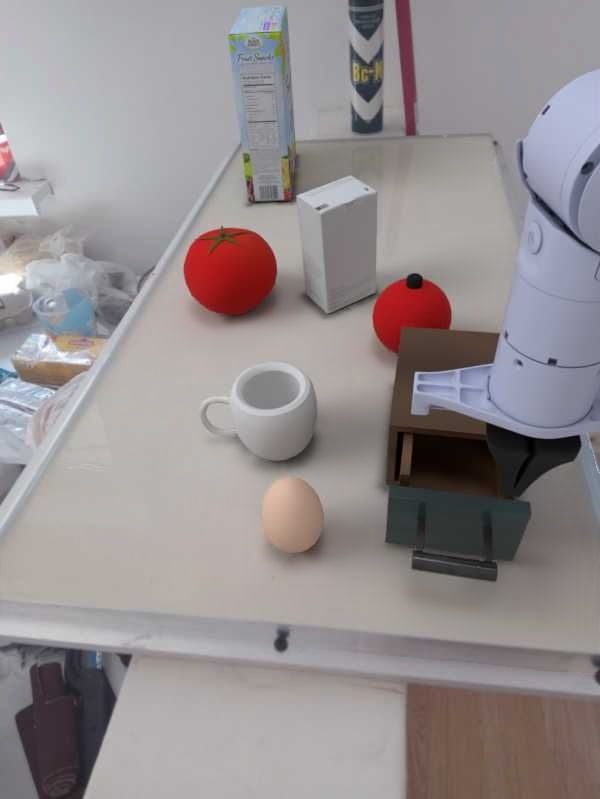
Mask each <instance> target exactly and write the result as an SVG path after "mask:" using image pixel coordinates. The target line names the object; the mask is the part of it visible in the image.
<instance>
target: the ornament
mask: <svg viewBox="0 0 600 799" xmlns="http://www.w3.org/2000/svg"><path fill="white" fill-rule="evenodd" d="M452 314H453V310H452V306H451V302H450V300H449V298H448V296H447V294H446V293H445V291H444V290H443V289H442V288H441V287H440V286H439V285H437V284H436V283H434V282H432V281H430V280H429V279H426V278H424V277H423V276H422V275H421V274H420V273H417V272H413V273H410V274H408V275H407V276H406V277H405V278H401V279H399V280H396V281H394V282H392V283H390V284H389V285H388V286H386V288H384V289H383V290H382V291H381V293H380V294H379V295H378V297H377V299H376V300H375V303H374V305H373V310H372V317H371V318H372V319H371V320H372V327H373V330H374V333H375V335H376V337H377V339H378V340H379V343H381V344H382V345H383V346H384V347H385V348H387V350H388V351H390V352H392V353H394V354H397V355H398V351H399V344H400V336H401V328H402V327H416V328H431V329H446V330H451V325H452V320H453V319H452V318H453V315H452Z"/></svg>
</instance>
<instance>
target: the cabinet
mask: <svg viewBox="0 0 600 799" xmlns="http://www.w3.org/2000/svg"><path fill="white" fill-rule="evenodd" d="M499 336H500V332H490V331H477V330H476V331H475V330H474V331H473V330H459V329H449V330H446V329H431V328H416V327H402V328H401V336H400V344H399V351H398V354H397V358H396V360H397V361H396V368H395V376H394V383H393V391H392V397H391V398H392V399H391V406H390V414H389V423H388V438H387V453H386V454H387V455H386V472H385V486H390V485H396V486H399V479H400V469H401V459H402V449H403V439H404V432H409V433H419V434H428V435H438V436H448V437H457V438H467V439H476V440H486V441H487V439H486V422H485V421H482V420H479V419H476V418H473V417H470V416H467V415H464V414H461V413H459V412H456V411H452V410H441V409H430V410H429V414H428V415H416V414H411V410H412V399H413V388H414V377H415V372H441V371H449V370H455V369H461V368H467V367H474V366H480V365H486V364H493V363H494V359H495V354H496V350H497V345H498V341H499Z"/></svg>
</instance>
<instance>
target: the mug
mask: <svg viewBox="0 0 600 799" xmlns="http://www.w3.org/2000/svg"><path fill="white" fill-rule="evenodd" d="M216 403H217V404H226V405H229V409H230V416H231V420H232V424H233V426H234V427H233V428H229V429H228V428H227V429H226V428H225V429H224V428H219V427H216V426H214V425H213V424H212V423H211V422H210V420H209V418H208V416H207V410H208V408H209V406H210V405H212V404H216ZM198 414H199V419H200V422H201V424H202V425H203V427H204V428H205V429H206V430H207V431H208V432H210V433H211V434H214V435H216V436H221V437H231V436H236V435H237V436H238V437H239V439H240V440H241V442H242V443H243V445H244V446H245V448H247V449H248V450H249V452H251V453H252V454H253V455H255V456H256V457H258V458H261V459H263V460H267V461H273V462H274V461H275V462H279V461H285V460H289V459H291V458H293V457H295V456H298V455H299V454H300V453H302V452H303V451H304V450H305V449H306V447H308V444H310V441H311V440H312V437H313V435H314V433H315V430H316V426H317V419H318V401H317V395H316V391H315V387H314V383H313V382H312V380H311V378H310V377H309V376H308V374H307V373H306V371H304V370H303V369H302V368H301V367H299V366H297V365H296V364H293V363H291V362H290V363H289V362H284V361H265V362H261V363H257V364H255V365H252V366H250V367H248V368H246V370H243V371H242V372H241V373H240V374H239V375H238V376H237V377H236V379H235V380H234V382H233V383H232V386H231V389H230V392H229V395H228V396H226V395H219V394H218V395H217V394H216V395H212V396H209V397H207V398H206V399H205V400H203V401H202V402H201V404H200V406H199V411H198Z"/></svg>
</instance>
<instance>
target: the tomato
mask: <svg viewBox="0 0 600 799" xmlns="http://www.w3.org/2000/svg"><path fill="white" fill-rule="evenodd" d="M182 272H183V277H184V281H185V282H184V283H185V286H186V287H187V289H188V291H189V293H190V296H192V297H193V298H194V300H195V301H197V303H198V304H200V305H201V306H202V307H204V308H206V309H207V310H209V311H211V312H213V313H216V314H222V315H230V316H231V315H240V314H244V313H246V312H249V311H250V310H253V309H254V308H256V307H257V306H259V305H260V304H261V303H262V302H263V301H264V300H266V299H267V297H268V296H269V295H270V294H271V292H272V291H273V289H274V287H275V285H276V281H277V277H278V276H277V275H278V264H277V259H276V255H275V253H274V251H273V248H272V247H271V245H270V244H269V243H268V241H266V240H265V238H263V236H261V235H260V234H258V233H257V232H255V231H253V230H251V229H247V228H239V227H224V226H223V225H221V227H220V228H217V229H212V230H209V231H206V232H204V233H202V234H201V235H199V236H198V237H197V238H195V239H193V242H191V244H190V246H189V247H188V250H187V252H186V254H185V258H184V262H183V270H182Z"/></svg>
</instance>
